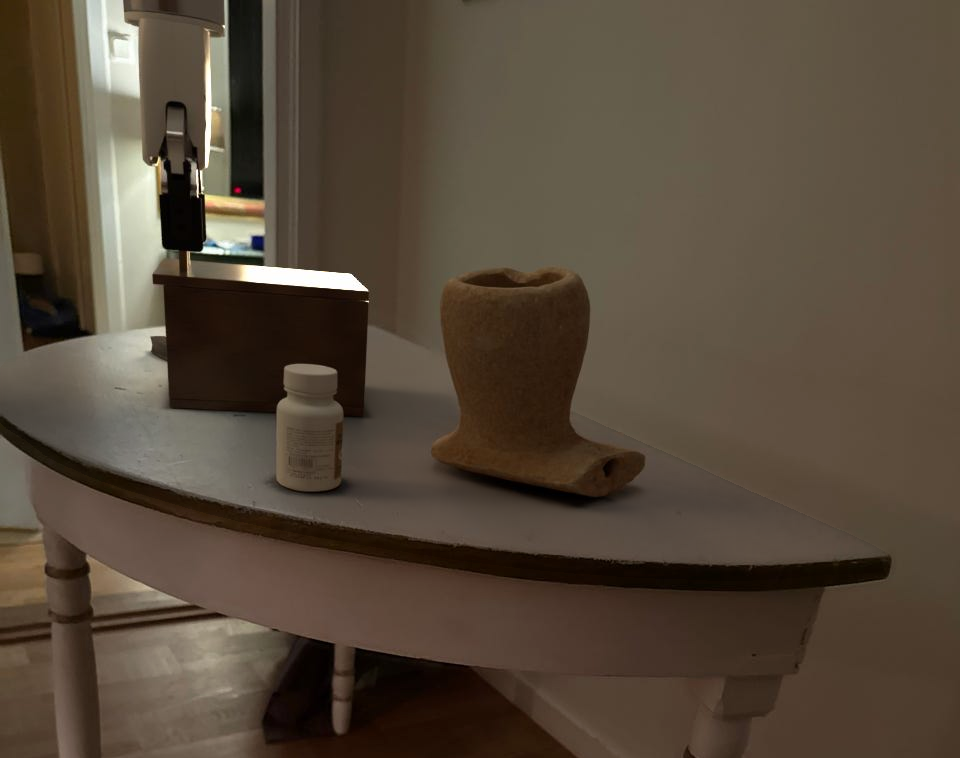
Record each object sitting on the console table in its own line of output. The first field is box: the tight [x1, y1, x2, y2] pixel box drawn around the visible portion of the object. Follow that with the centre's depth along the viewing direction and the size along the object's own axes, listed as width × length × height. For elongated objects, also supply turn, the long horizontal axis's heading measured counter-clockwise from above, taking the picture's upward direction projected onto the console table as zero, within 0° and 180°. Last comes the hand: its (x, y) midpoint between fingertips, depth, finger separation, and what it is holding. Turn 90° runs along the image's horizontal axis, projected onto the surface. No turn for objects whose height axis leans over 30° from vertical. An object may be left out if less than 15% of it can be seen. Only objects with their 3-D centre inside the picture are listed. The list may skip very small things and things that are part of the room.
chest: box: [162, 285, 370, 417], centre depth 83 cm, size 17×14×10 cm
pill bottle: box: [275, 364, 344, 493], centre depth 61 cm, size 4×4×8 cm
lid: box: [151, 251, 370, 302], centre depth 80 cm, size 17×14×5 cm
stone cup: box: [430, 266, 646, 498], centre depth 65 cm, size 15×12×15 cm
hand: (185, 245), depth 78 cm, fingers open, 9 cm apart
